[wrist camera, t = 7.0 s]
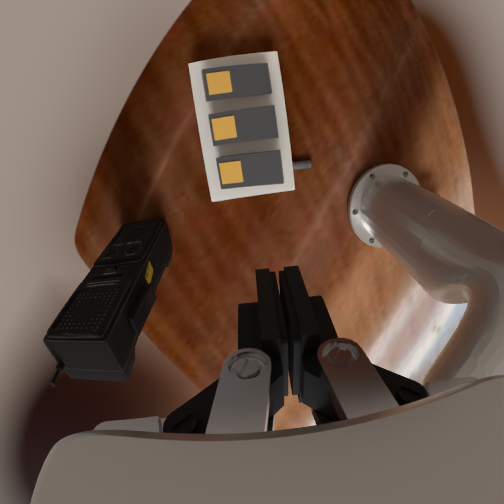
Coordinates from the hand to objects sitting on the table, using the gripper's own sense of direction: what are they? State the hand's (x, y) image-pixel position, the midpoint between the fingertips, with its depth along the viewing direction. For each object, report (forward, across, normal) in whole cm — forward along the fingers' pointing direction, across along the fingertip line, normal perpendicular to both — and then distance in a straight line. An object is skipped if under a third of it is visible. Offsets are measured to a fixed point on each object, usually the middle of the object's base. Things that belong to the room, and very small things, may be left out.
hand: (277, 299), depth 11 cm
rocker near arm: (+23, 0, -2) cm, 23 cm away
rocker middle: (+23, +1, -7) cm, 24 cm away
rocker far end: (+23, +1, -11) cm, 26 cm away
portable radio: (+27, +15, +7) cm, 31 cm away
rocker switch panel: (+27, -1, -7) cm, 28 cm away
